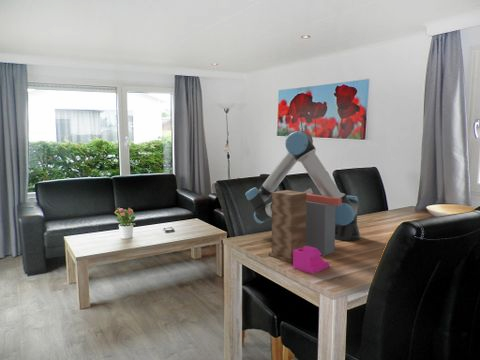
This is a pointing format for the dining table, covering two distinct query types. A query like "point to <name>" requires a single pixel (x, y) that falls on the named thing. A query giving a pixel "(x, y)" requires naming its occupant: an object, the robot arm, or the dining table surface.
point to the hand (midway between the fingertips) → (303, 192)
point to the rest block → (320, 226)
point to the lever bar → (324, 199)
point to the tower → (288, 223)
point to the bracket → (308, 260)
